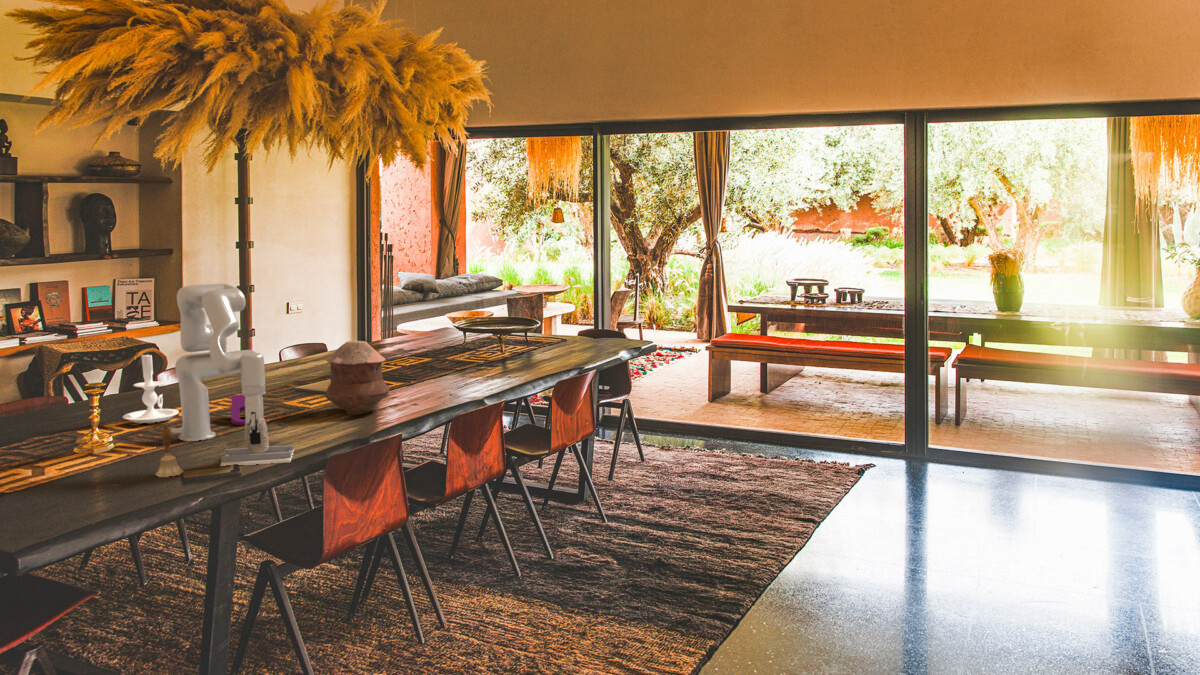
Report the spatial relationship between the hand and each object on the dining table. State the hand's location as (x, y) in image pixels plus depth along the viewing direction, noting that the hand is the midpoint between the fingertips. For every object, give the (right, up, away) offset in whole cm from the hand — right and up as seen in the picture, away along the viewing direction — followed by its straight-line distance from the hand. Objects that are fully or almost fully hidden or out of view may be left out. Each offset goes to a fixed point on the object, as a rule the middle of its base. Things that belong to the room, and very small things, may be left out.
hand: (256, 441), depth 318 cm
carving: (0, -4, +1) cm, 4 cm away
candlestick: (-65, +1, +63) cm, 90 cm away
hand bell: (-23, -9, -16) cm, 29 cm away
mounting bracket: (-27, +1, +60) cm, 66 cm away
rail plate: (0, -6, +1) cm, 6 cm away
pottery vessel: (+15, +4, +75) cm, 76 cm away
